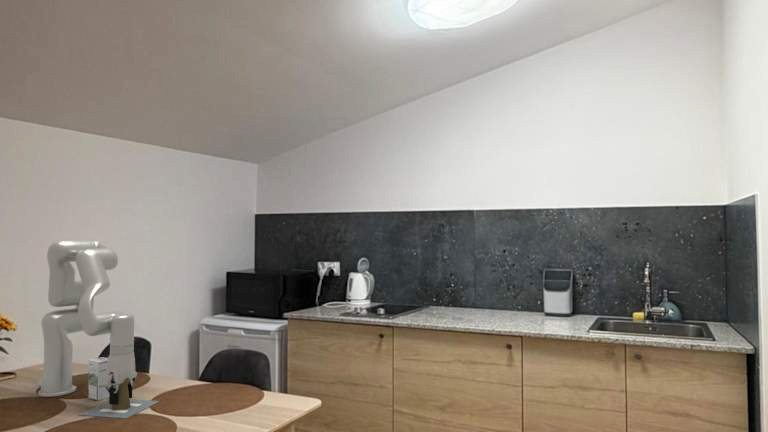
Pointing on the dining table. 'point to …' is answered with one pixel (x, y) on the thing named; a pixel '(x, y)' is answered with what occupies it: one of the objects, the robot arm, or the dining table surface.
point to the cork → (122, 396)
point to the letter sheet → (106, 410)
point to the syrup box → (97, 378)
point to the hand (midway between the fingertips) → (120, 400)
